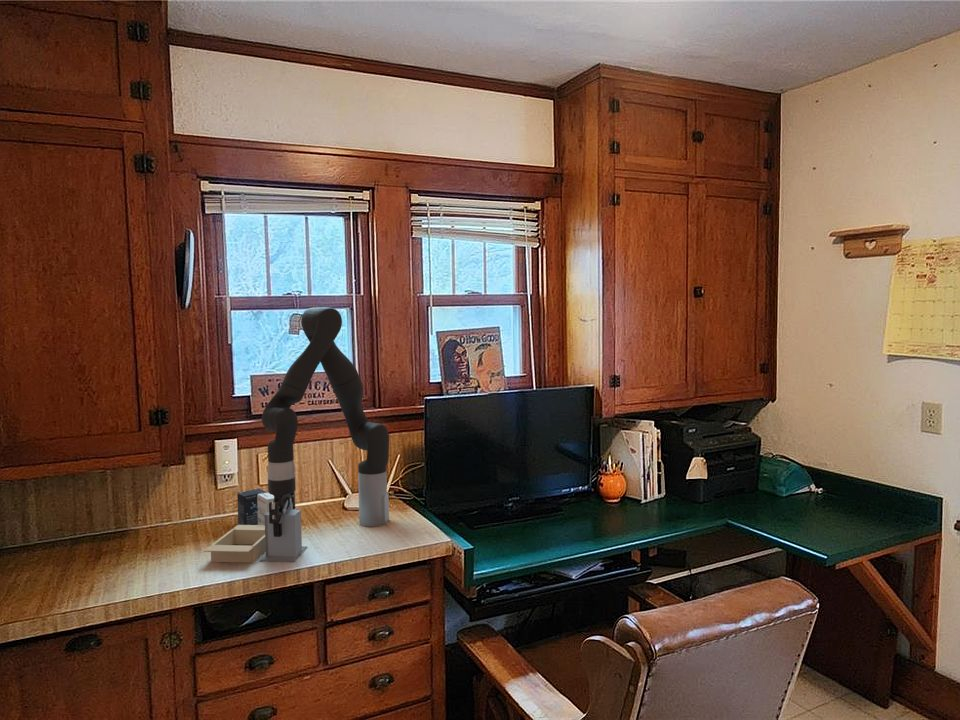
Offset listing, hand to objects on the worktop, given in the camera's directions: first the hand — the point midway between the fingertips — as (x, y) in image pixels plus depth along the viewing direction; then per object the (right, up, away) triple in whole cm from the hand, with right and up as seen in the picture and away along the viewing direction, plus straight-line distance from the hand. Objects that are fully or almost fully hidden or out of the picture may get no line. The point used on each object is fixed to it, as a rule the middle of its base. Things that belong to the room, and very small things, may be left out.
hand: (283, 531), depth 189 cm
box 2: (0, -6, 0) cm, 6 cm away
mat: (0, -7, +1) cm, 7 cm away
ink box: (-10, -6, +20) cm, 23 cm away
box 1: (-19, -5, +29) cm, 35 cm away
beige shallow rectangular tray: (-12, -7, +2) cm, 14 cm away
